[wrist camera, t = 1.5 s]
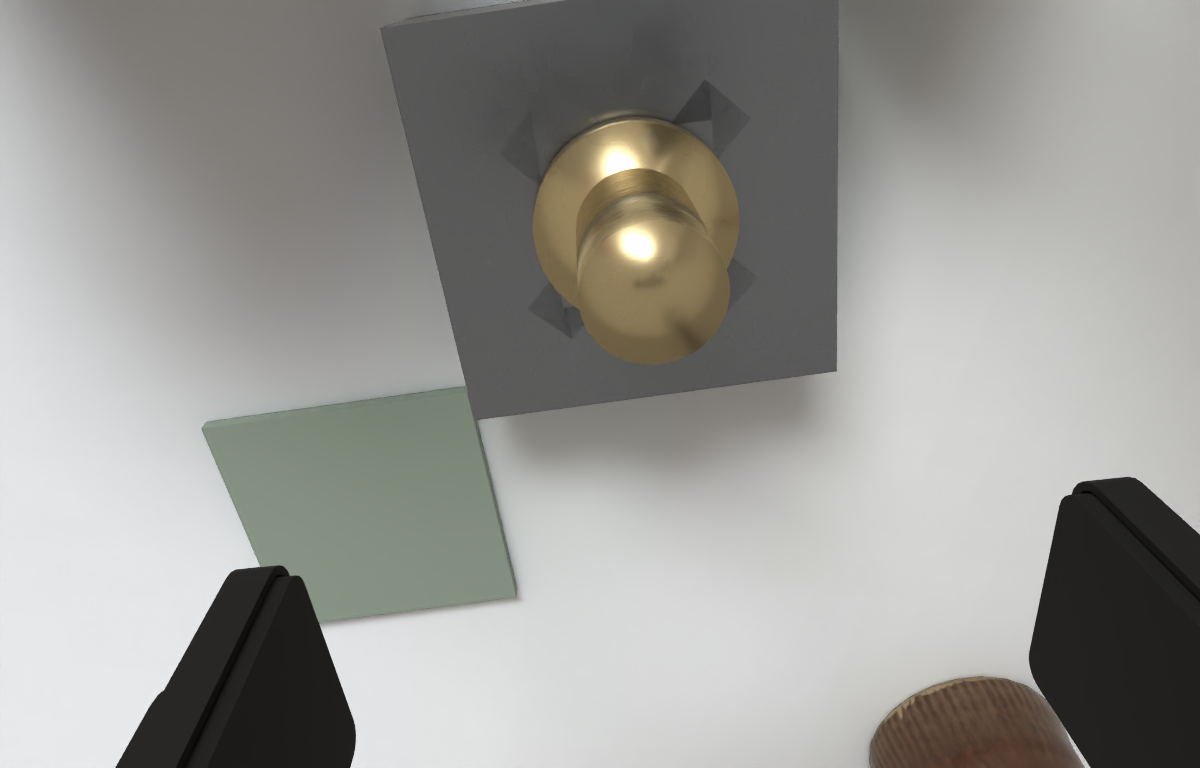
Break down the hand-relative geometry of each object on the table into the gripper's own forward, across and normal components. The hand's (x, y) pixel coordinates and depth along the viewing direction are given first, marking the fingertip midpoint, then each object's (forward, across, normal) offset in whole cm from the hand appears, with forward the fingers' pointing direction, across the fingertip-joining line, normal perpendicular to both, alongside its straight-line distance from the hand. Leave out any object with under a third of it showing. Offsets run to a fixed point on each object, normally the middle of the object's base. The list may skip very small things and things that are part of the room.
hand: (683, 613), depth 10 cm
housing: (+24, -1, +1) cm, 24 cm away
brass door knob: (+24, -1, +1) cm, 24 cm away
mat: (+24, +13, +15) cm, 31 cm away
